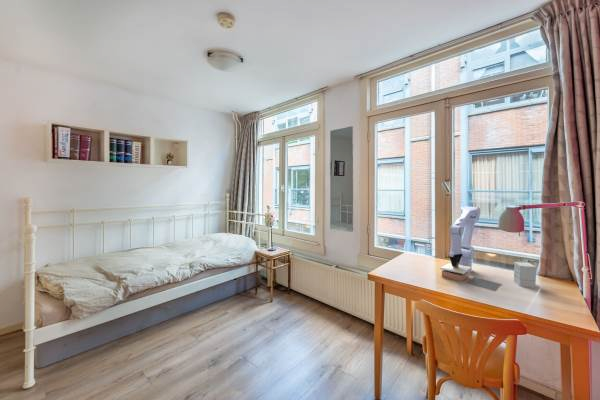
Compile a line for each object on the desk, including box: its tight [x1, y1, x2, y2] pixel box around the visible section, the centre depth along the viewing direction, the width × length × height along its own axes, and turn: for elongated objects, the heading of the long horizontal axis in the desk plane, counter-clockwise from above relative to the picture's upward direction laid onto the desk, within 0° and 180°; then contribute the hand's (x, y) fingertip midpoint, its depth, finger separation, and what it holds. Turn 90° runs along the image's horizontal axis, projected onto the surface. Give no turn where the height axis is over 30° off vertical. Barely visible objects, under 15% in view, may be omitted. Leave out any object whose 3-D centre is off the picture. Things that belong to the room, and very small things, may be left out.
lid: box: [439, 262, 473, 274], centre depth 155 cm, size 13×13×4 cm
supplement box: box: [513, 261, 537, 289], centre depth 143 cm, size 7×7×13 cm
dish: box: [441, 270, 469, 282], centre depth 156 cm, size 11×11×4 cm
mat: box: [466, 276, 503, 292], centre depth 145 cm, size 14×14×1 cm
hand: (455, 265), depth 155 cm, fingers closed on lid, 3 cm apart
